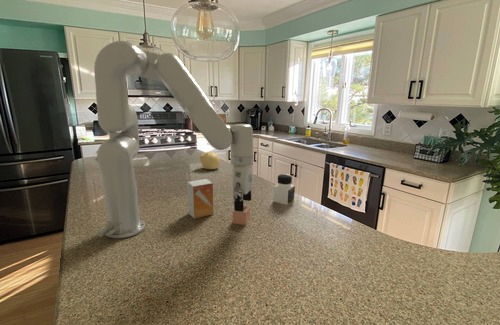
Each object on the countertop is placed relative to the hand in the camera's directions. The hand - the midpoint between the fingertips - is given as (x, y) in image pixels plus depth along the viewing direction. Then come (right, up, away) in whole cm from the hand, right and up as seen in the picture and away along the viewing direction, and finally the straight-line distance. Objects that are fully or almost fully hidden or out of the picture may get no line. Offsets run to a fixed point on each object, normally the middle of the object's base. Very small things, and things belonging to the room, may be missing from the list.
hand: (243, 205), depth 95 cm
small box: (-17, -5, +7) cm, 19 cm away
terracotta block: (-1, -6, +1) cm, 6 cm away
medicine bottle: (+17, -2, +21) cm, 27 cm away
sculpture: (-23, +12, +71) cm, 76 cm away
